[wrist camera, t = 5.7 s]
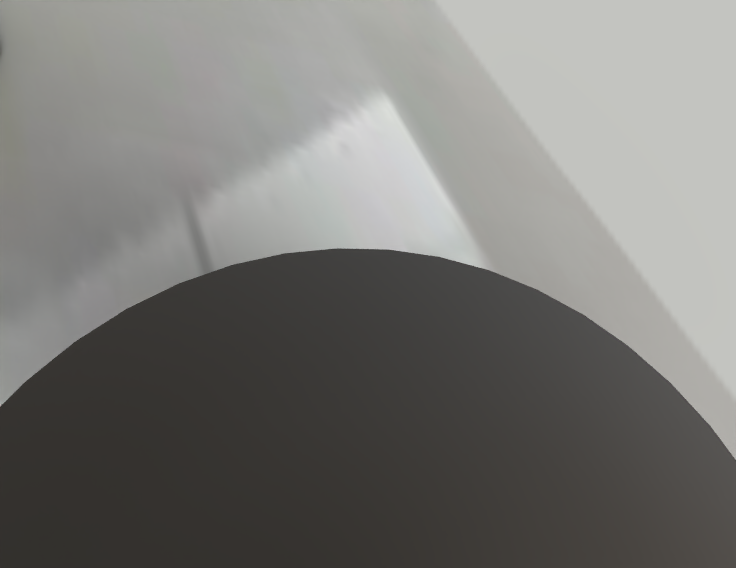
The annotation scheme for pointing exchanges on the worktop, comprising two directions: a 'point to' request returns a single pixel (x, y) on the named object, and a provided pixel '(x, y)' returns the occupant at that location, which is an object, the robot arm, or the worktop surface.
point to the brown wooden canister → (358, 431)
